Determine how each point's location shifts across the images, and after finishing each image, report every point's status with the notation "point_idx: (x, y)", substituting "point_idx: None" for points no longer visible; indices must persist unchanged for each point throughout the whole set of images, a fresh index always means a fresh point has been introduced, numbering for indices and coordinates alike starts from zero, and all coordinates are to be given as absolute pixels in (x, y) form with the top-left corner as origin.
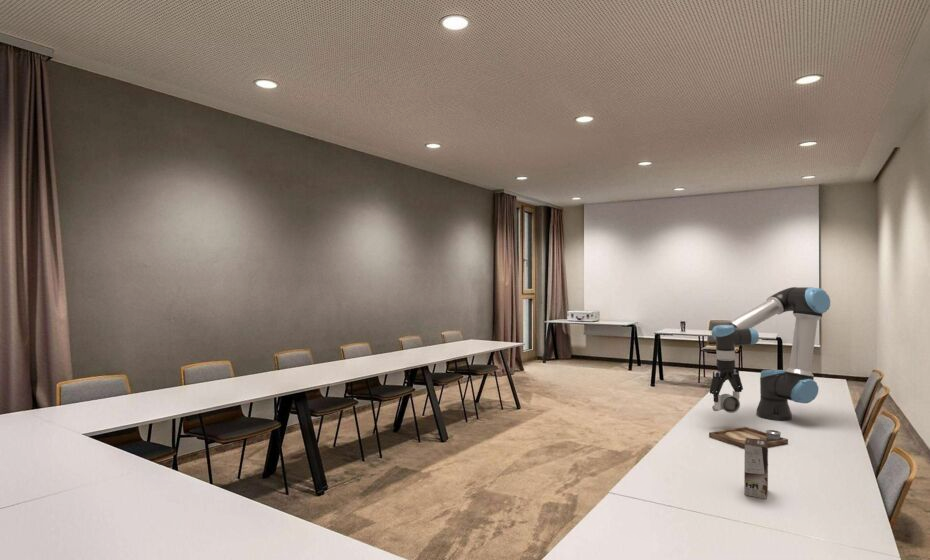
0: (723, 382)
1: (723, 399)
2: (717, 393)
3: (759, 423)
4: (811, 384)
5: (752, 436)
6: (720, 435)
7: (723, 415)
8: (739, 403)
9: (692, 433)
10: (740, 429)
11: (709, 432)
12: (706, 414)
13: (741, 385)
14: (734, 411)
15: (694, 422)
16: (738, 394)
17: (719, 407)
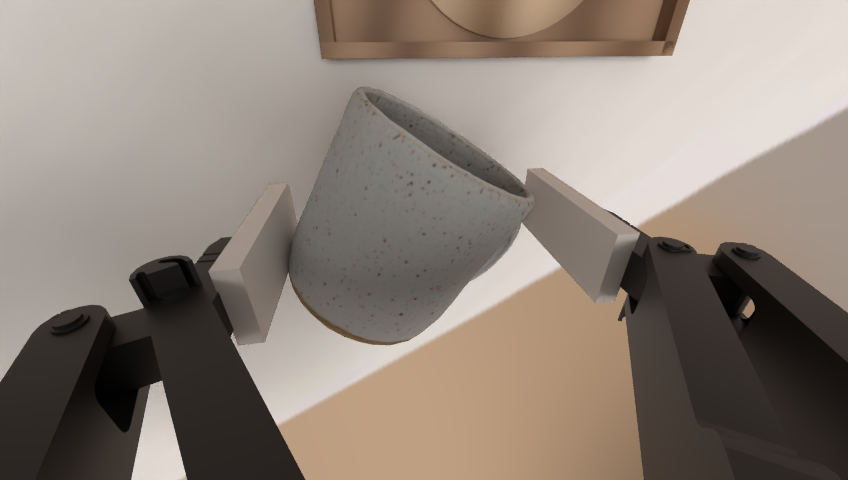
0: (708, 422)
1: (530, 209)
2: (690, 248)
3: (72, 169)
4: None
5: None
6: (607, 16)
7: None
8: (364, 91)
9: (645, 153)
10: (389, 42)
11: (670, 53)
12: (289, 374)
13: (26, 380)
14: (407, 112)
15: None
16: (231, 250)
17: (551, 175)
